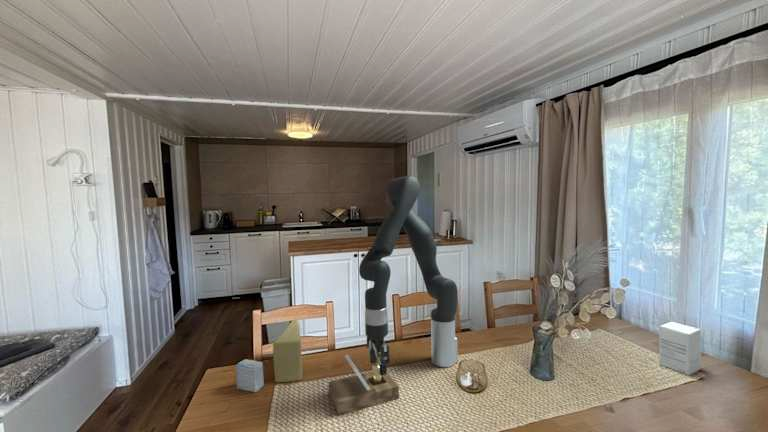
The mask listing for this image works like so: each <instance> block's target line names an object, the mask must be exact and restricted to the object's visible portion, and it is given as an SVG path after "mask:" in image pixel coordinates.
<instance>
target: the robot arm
mask: <svg viewBox="0 0 768 432" xmlns="http://www.w3.org/2000/svg"><path fill="white" fill-rule="evenodd" d="M420 190H421V185H420V182H419V180H418V179H417V178H416V177H415V176H413V175H405V176H400V177H398V178H394V179H391V180H390V181H389V182H388V183H387V186H386V193H387V197H388V199H389V200H390V203H391V205H392V207H393V208H392V210H391V212H390V213H389V215H388V216H386V218H385V220H384V221H382V224H381V225H380V227H379V229H378V230H377V233H376V236H375V237H374V238H375V239H374V241H373V243H372V245H371V247H370V248H369V250H368V251H367V253H366V254H365V256H364V257H363V258H362V260H361V261H360V264H359V270H358V273H359V276H360V277H361V279H363V280H365V281H368V282H373V287H370V288H367V289H366V290H365V292H364V307H365V308H364V328H365V336H366V348H367V349H368V352H369V362H370V363H371V364H372V365H373V364H376V363H377V361H378V364H379V372H380V375H381V376H382V375H386V374H387V373H388V369H387V367H388V366H387V365H389V364H390V360H391V359H390V346H389V343H388V344H387V343H386V340H385V337H387V336H388V334H389V321H388V320H389V316H388V315H389V314H388V308H387V291H388V288H389V284H390V279H391V274H392V273H391V267H390V265H389V263H388V262H386V261H384V260H382V259H383V258H386V257H390V256H391V255H392V254H393V251H394V249H395V246H396V243H397V240H398V237H399V235H400V233H401V229H403V230H404V233H405V234H406V236H407V240H408V242H409V245H410V247H411V250H412V253H413V254H414V256H415V259H416V261H417V264H418V267H419V269H420V271H421V274H422V279H423V283H424V286H425V289H426V292H427V294H428V295H429V297H430V298H432V299H433V300H436V307H435V308H433V309H432V310H431V312H430V326H431V327H430V335H431V337H430V339H431V341H430V342H431V343H430V344H431V346H430V347H431V350H430V351H431V363H432V364H433V365H435V366H436V367H441V368H449V367H453V366H454V365H456V364H457V363H458V361H459V359H458V358H459V357H458V355H459V353H458V338H457V337H456V314H457V311H458V286H457V284H456V282H455V281H453V280H452V279H450V278H447V277H444V276H443V275H442V274H441V271H440V269H439V267H438V265H437V249H438V248H437V242H436V239H435V237H434V235H433V232H432V230H431V228H430V227H429V226H428V225H427V224H426V222H425V221H424V220H423V219H422V218H421V217H420V216H419V215H418V214H417V213H416V212H415V210H414V208H413V207H414V205H415V203H416V201H417V200H418V197H419V195H420Z"/></svg>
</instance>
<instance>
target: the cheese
mask: <svg viewBox="0 0 768 432" xmlns="http://www.w3.org/2000/svg"><path fill="white" fill-rule="evenodd" d="M272 350H273V351H272V354H273V356H272V357H273V358H272V359H273V370H274V371H273V372H274V381H275V383H287V382H297V381H301V380H302V379H303V363H302V362H303V361H302V339H301V329H300V324H299V320H297V319H295V320H291V321H290V322H289V324H288V326H287V327H286V328H285V330H284V331H283V332H282V333H281V334H280V335H279V337H277V338H276V339H275V340H274V341H273V344H272Z"/></svg>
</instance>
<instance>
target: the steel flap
mask: <svg viewBox="0 0 768 432" xmlns="http://www.w3.org/2000/svg"><path fill="white" fill-rule="evenodd" d="M344 357H345V359H346V360H347V362H348V363H349V365H350V366H351V368H352V370H353V372H354V373H355V375H357V376H358V377H359V379H360V380H361V382H362V383H363V385H364V386H365V388H366V389H367V391H369V390H370V387H369V386H368V384H367V383H366V381H365V380H364V378H363V377H362V375H361V374H362V373H361V371H359V369H358V368H357V366H356V365H355V363H354V362H353V361H352V359H351V357H350V356H349V354H348V353H346V354H345V355H344Z"/></svg>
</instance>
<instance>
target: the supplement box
mask: <svg viewBox="0 0 768 432" xmlns="http://www.w3.org/2000/svg"><path fill="white" fill-rule="evenodd" d="M658 328H659V333H658V334H659V335H658V337H659V339H658V340H659V341H658V343H659V348H658V349H659V350H658V351H659V352H658V356H659V357H658V358H659V359H658V365H659V366H662V367H665V368H667V367H668V369H671V370H673V371H676V372H678V373H682V374H683V375H687V376H691V375H692V374H695V373H696V372H698V371H699V370H701V365H702V364H701V362H702V361H701V357H702V356H701V355H702V354H701V351H702V350H701V349H702V348H701V345H702V344H701V343H702V342H701V341H702V340H701V339H702V337H701V328H697V327H693V326H689V325H687V324H686V325H684V324H682V323H679V322H674V321H670V322H667V323H663V324H661V325H659V327H658Z"/></svg>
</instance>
